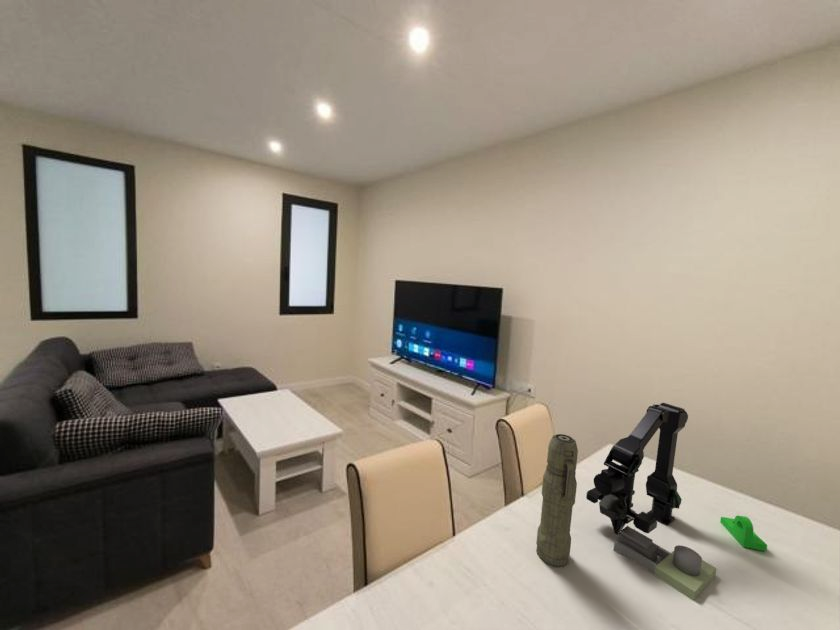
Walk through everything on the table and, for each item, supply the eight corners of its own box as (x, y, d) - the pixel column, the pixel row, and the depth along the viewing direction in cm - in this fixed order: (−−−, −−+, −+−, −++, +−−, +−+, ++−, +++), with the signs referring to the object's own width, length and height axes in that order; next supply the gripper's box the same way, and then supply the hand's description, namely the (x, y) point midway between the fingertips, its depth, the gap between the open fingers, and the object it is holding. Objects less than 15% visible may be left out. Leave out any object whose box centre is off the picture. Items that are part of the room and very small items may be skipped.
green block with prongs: (638, 531, 114) (640, 512, 113) (715, 576, 97) (718, 554, 97) (611, 549, 105) (614, 529, 104) (692, 602, 88) (695, 578, 88)
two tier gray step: (624, 540, 109) (626, 524, 109) (657, 559, 102) (659, 542, 101) (616, 546, 106) (618, 529, 106) (649, 566, 99) (651, 549, 99)
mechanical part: (766, 551, 109) (770, 526, 108) (743, 546, 110) (747, 522, 109) (740, 525, 120) (744, 503, 119) (720, 522, 122) (723, 499, 121)
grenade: (549, 574, 94) (562, 448, 91) (527, 542, 106) (538, 429, 103) (579, 571, 96) (592, 447, 93) (554, 539, 107) (565, 428, 104)
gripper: (578, 477, 111) (573, 524, 113) (642, 511, 96) (635, 565, 97) (598, 469, 117) (593, 513, 119) (661, 500, 102) (654, 550, 103)
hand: (616, 534), depth 109 cm, fingers closed
